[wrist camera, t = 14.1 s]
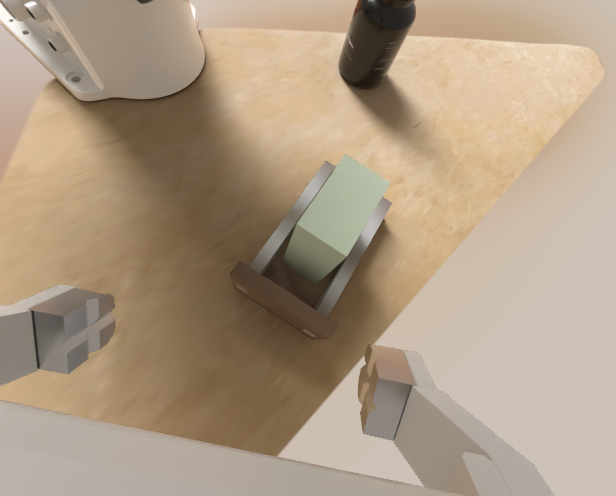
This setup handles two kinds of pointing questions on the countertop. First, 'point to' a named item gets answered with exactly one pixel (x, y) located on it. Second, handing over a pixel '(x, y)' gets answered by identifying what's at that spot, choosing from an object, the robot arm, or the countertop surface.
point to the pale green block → (334, 220)
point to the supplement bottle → (375, 40)
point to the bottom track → (292, 286)
